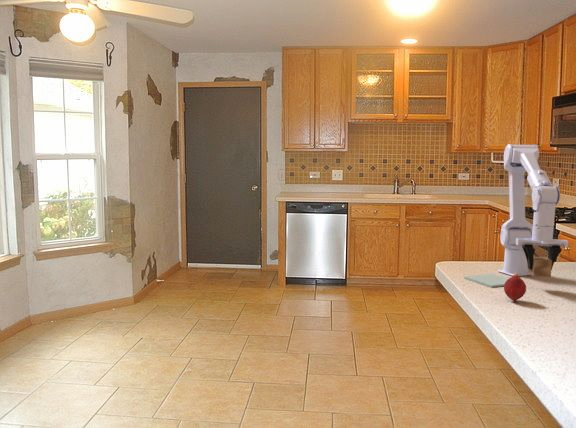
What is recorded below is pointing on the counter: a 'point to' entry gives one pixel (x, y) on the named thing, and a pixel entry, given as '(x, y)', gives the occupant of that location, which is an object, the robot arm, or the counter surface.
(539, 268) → the walnut cube
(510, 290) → the onion
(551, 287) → the counter surface
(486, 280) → the ceramic tile
